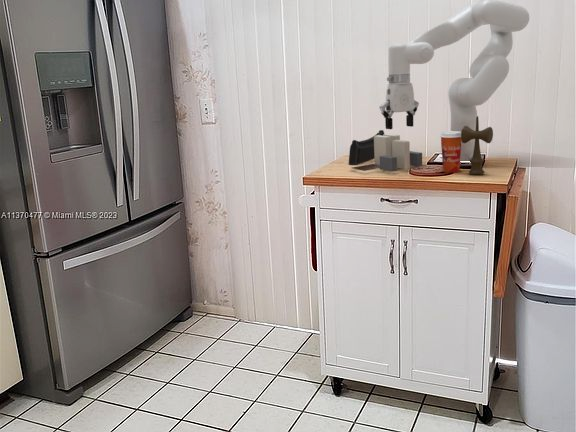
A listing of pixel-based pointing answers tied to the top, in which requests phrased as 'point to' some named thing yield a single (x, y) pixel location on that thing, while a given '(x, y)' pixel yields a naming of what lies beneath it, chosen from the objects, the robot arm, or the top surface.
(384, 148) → the white book
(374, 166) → the shelf board
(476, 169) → the kendama
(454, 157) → the paper cup
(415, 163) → the grey book
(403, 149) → the white book
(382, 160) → the grey book
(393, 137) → the white book
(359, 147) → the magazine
